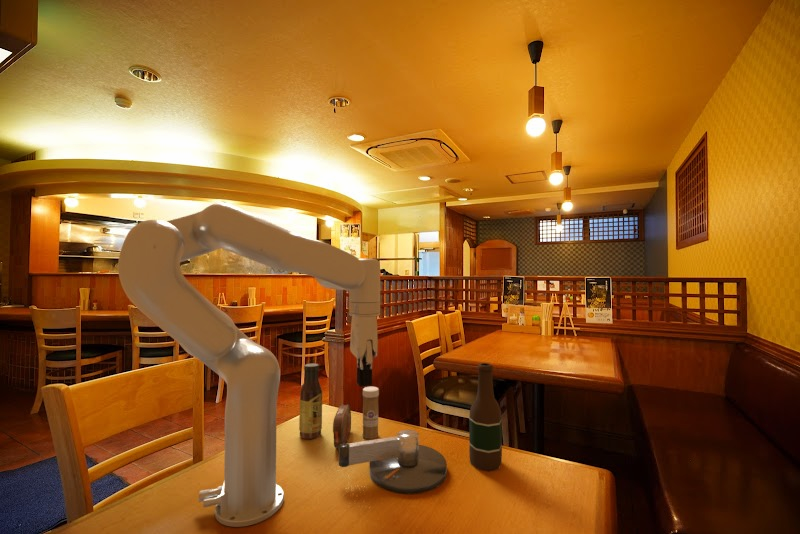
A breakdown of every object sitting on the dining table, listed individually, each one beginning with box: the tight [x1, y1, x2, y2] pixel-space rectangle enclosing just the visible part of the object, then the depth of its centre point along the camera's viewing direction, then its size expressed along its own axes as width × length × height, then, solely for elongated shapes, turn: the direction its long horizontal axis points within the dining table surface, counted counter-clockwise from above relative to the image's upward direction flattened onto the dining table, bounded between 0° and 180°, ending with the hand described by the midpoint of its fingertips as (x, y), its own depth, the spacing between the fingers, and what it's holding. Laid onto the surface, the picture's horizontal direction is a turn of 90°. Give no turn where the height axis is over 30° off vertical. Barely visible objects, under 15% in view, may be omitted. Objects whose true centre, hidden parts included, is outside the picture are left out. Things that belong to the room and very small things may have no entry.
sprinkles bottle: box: [362, 386, 380, 440], centre depth 102 cm, size 5×5×13 cm
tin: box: [332, 404, 352, 449], centre depth 99 cm, size 15×3×8 cm, turn 179°
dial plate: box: [368, 444, 448, 495], centre depth 84 cm, size 18×18×2 cm
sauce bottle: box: [298, 363, 323, 440], centre depth 103 cm, size 6×6×20 cm
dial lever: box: [338, 429, 420, 468], centre depth 82 cm, size 19×5×6 cm, turn 109°
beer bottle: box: [468, 362, 503, 472], centre depth 88 cm, size 8×8×24 cm
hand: (364, 384), depth 88 cm, fingers closed
